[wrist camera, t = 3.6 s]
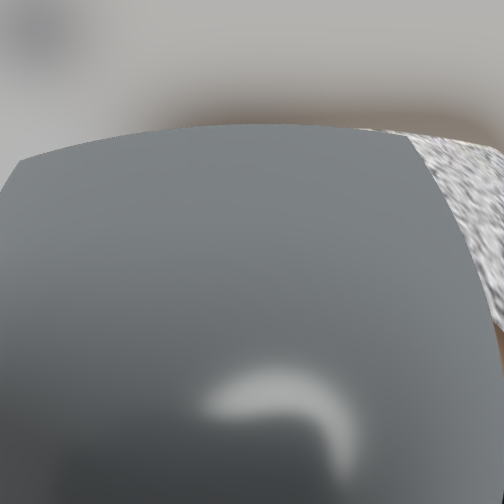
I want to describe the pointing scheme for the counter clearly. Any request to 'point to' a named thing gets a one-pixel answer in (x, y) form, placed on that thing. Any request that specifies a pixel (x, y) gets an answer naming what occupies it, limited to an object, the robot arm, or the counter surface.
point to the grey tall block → (243, 325)
